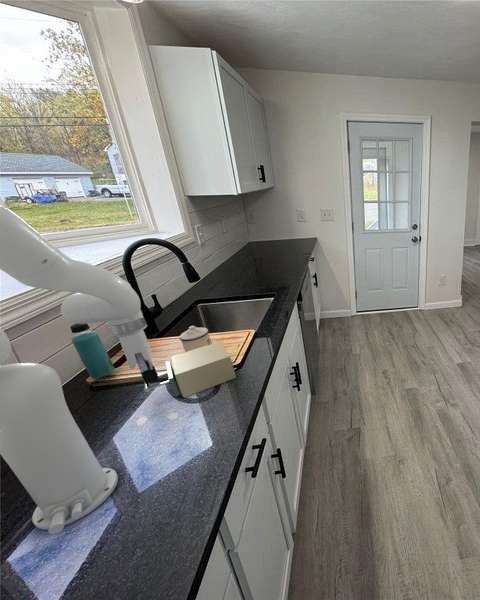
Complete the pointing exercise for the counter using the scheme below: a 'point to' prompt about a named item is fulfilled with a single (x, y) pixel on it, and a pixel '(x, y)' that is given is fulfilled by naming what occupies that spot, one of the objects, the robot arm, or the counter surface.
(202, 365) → the drawer cabinet
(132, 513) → the counter surface
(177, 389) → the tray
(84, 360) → the beverage bottle
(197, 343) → the teacup with lid
